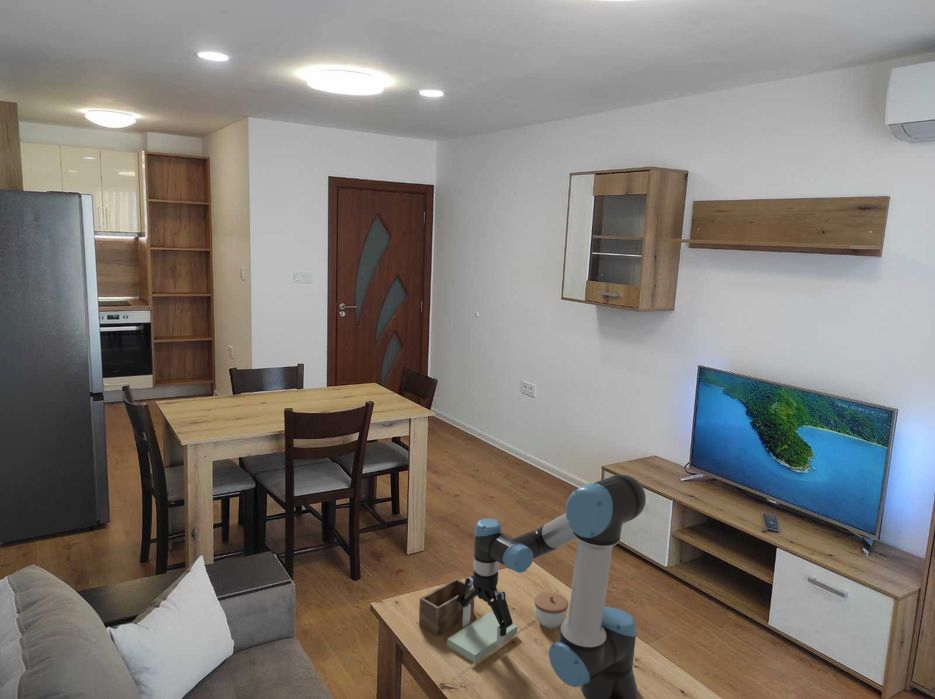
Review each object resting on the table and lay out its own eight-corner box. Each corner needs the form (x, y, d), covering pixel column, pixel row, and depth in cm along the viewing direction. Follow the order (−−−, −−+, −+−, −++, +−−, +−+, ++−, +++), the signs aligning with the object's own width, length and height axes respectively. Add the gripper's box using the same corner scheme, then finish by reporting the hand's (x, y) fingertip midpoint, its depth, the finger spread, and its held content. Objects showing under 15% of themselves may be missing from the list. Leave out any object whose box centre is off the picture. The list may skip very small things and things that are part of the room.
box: (455, 605, 223) (456, 578, 221) (473, 615, 218) (474, 587, 216) (418, 627, 211) (419, 598, 209) (437, 638, 205) (438, 608, 204)
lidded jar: (565, 635, 210) (567, 608, 208) (531, 630, 212) (533, 602, 210) (567, 616, 220) (569, 590, 218) (534, 611, 222) (536, 585, 220)
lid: (489, 621, 216) (490, 611, 215) (516, 636, 208) (517, 626, 208) (446, 649, 201) (447, 638, 200) (474, 666, 194) (475, 655, 193)
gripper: (526, 581, 195) (522, 646, 199) (463, 551, 211) (460, 612, 215) (511, 591, 189) (507, 658, 193) (446, 559, 205) (444, 622, 209)
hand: (482, 634), depth 204 cm, fingers open, 13 cm apart
